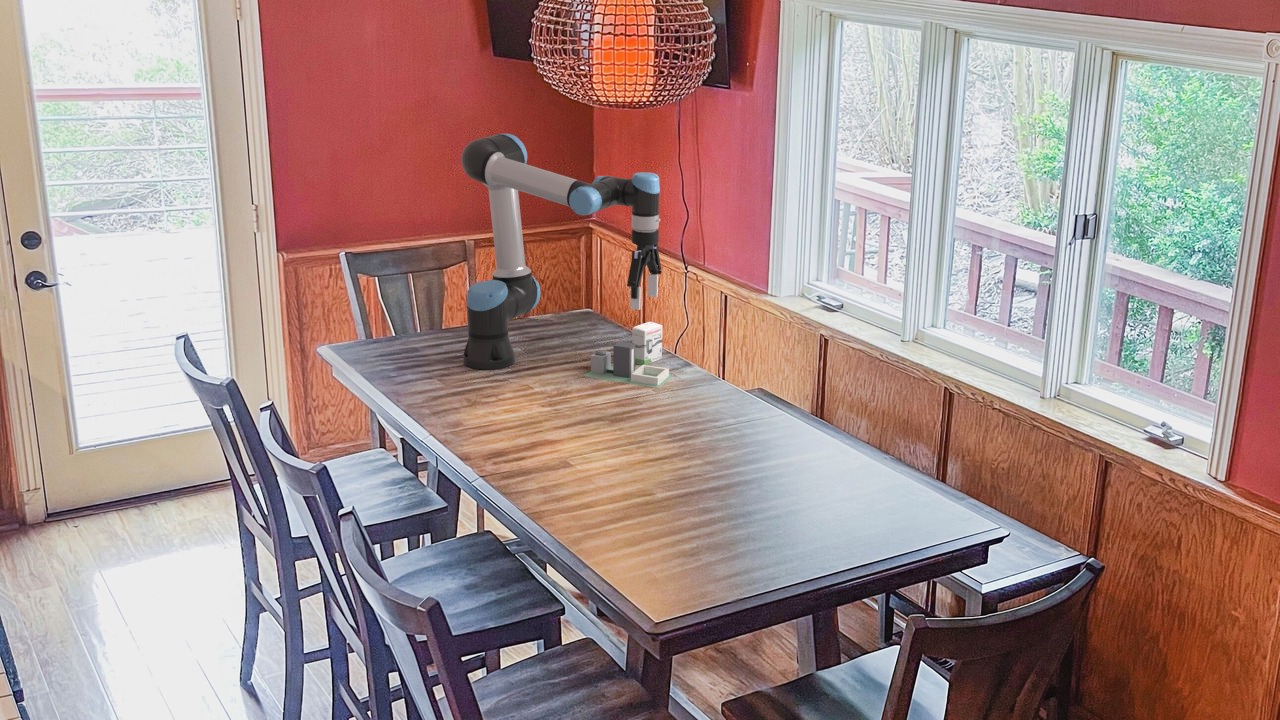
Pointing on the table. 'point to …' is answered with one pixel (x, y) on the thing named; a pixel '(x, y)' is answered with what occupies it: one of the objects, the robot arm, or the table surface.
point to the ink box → (647, 342)
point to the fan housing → (601, 362)
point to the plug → (623, 359)
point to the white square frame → (640, 378)
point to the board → (623, 378)
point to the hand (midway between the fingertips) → (644, 302)
